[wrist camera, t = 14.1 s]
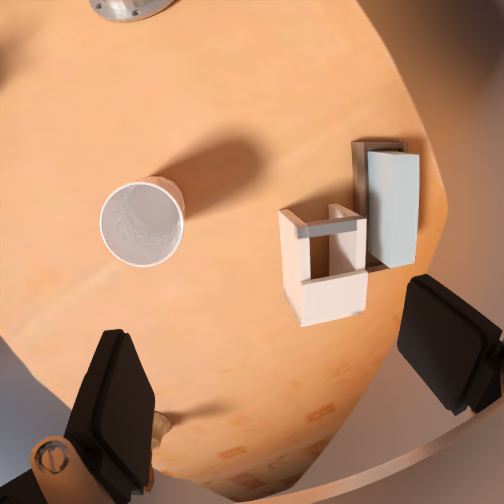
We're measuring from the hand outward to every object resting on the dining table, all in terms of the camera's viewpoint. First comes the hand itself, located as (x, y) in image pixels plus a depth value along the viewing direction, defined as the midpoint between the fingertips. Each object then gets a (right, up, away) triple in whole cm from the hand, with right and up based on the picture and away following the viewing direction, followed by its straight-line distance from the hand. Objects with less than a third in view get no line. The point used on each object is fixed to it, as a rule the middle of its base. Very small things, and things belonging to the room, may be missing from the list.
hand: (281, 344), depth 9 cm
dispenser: (+7, +3, +31) cm, 31 cm away
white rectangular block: (+17, +10, +29) cm, 35 cm away
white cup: (-12, +9, +26) cm, 30 cm away
